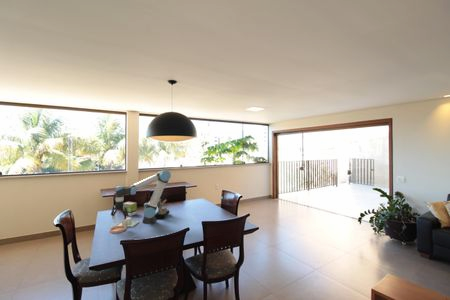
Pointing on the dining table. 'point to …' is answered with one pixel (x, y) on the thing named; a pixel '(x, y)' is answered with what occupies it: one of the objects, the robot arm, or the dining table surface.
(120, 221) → the parts tray
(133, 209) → the tea box
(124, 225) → the pale grey block
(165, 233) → the dining table surface
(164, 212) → the coral
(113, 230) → the bowl
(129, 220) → the cream rectangular block
